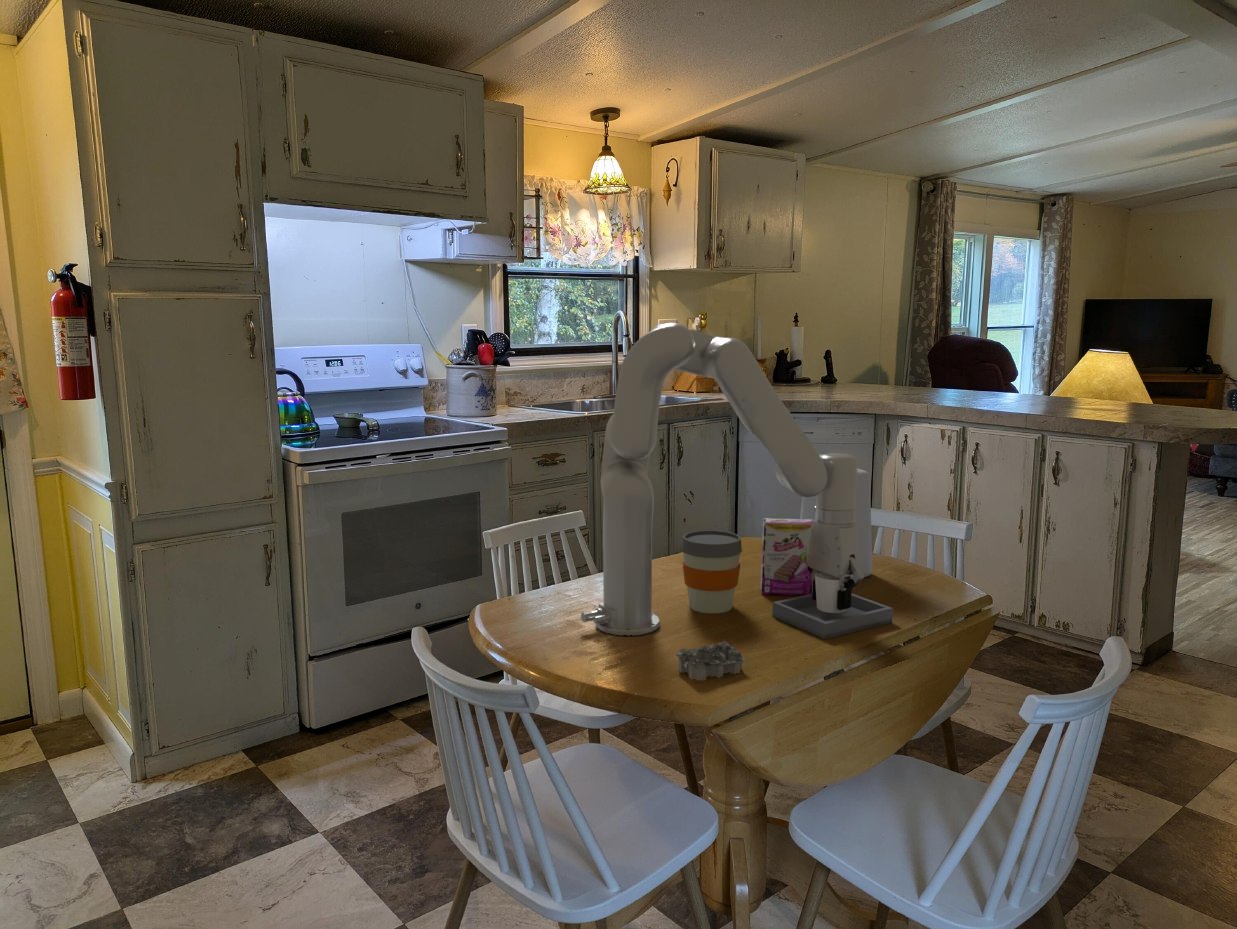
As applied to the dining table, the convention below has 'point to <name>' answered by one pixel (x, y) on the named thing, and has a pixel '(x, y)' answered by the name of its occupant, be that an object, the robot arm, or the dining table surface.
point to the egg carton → (710, 660)
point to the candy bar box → (785, 557)
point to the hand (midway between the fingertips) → (831, 603)
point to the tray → (832, 616)
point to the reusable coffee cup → (711, 569)
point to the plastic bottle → (860, 519)
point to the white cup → (827, 592)
